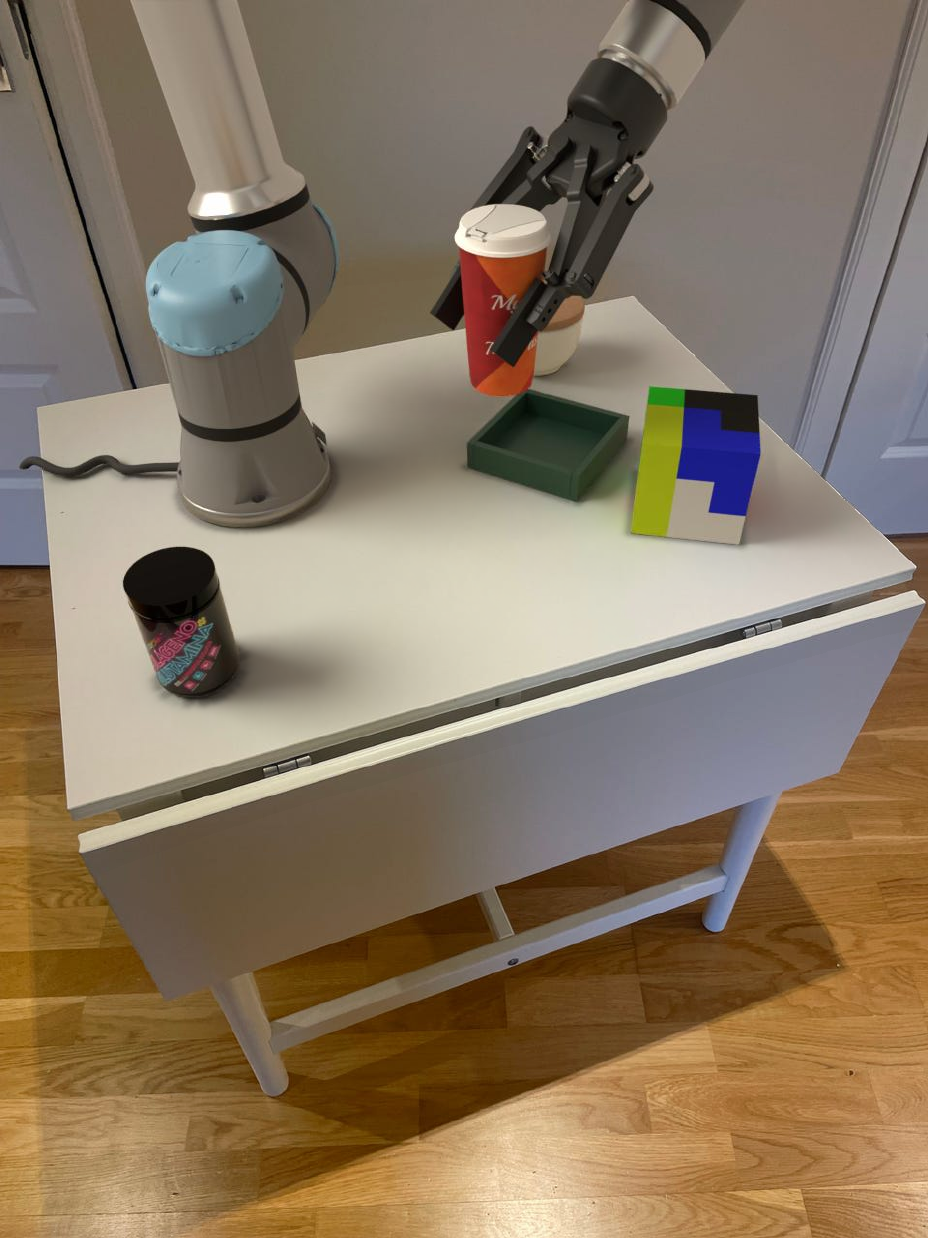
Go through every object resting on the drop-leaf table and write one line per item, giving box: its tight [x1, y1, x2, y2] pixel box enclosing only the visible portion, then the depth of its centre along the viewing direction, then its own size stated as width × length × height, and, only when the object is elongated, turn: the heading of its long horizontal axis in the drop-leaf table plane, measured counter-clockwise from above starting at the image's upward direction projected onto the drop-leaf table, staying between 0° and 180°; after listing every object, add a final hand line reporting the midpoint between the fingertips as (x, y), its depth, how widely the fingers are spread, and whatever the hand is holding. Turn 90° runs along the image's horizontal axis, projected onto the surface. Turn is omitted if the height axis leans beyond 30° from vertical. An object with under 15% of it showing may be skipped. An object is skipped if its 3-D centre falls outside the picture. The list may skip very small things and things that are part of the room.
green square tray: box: [466, 388, 630, 503], centre depth 95 cm, size 13×13×3 cm
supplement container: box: [122, 546, 241, 698], centre depth 71 cm, size 7×7×10 cm
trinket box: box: [533, 296, 586, 377], centre depth 107 cm, size 11×11×9 cm
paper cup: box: [454, 204, 553, 398], centre depth 76 cm, size 8×8×14 cm
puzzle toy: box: [630, 385, 762, 546], centre depth 86 cm, size 10×10×10 cm
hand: (471, 339), depth 76 cm, fingers closed on paper cup, 8 cm apart
